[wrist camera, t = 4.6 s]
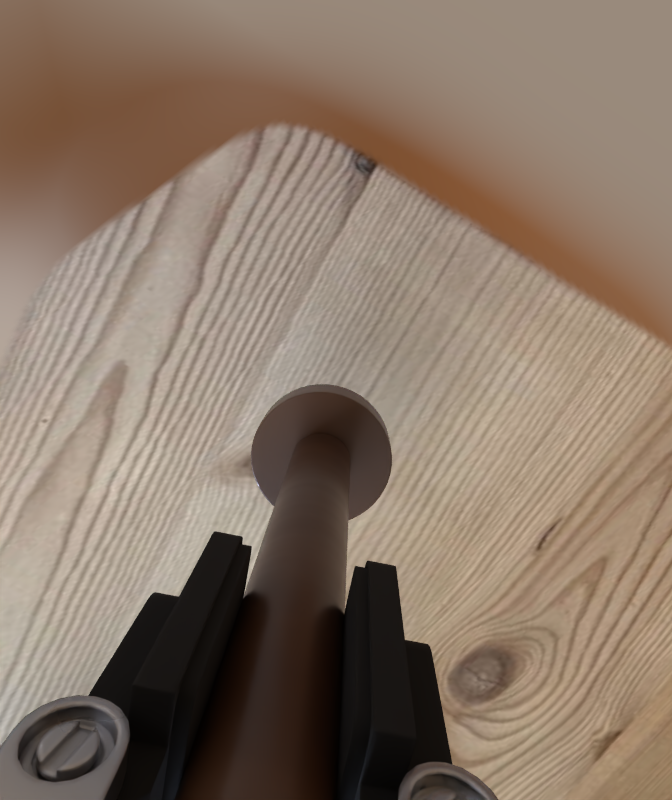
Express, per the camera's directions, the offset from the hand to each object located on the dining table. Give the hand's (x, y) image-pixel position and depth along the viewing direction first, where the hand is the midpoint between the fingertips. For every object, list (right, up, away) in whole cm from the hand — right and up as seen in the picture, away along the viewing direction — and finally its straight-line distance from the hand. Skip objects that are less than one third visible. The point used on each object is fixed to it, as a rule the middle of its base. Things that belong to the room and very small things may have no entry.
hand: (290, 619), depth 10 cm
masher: (0, +2, +9) cm, 10 cm away
